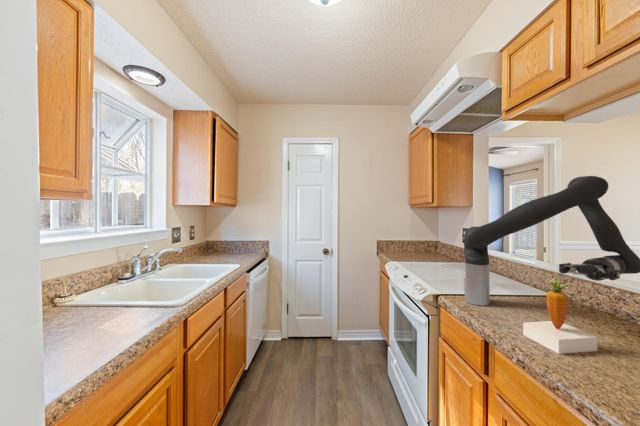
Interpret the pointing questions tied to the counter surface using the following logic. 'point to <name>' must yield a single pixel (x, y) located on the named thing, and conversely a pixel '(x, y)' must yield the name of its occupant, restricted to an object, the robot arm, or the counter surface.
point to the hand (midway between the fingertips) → (577, 273)
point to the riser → (560, 337)
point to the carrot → (557, 304)
